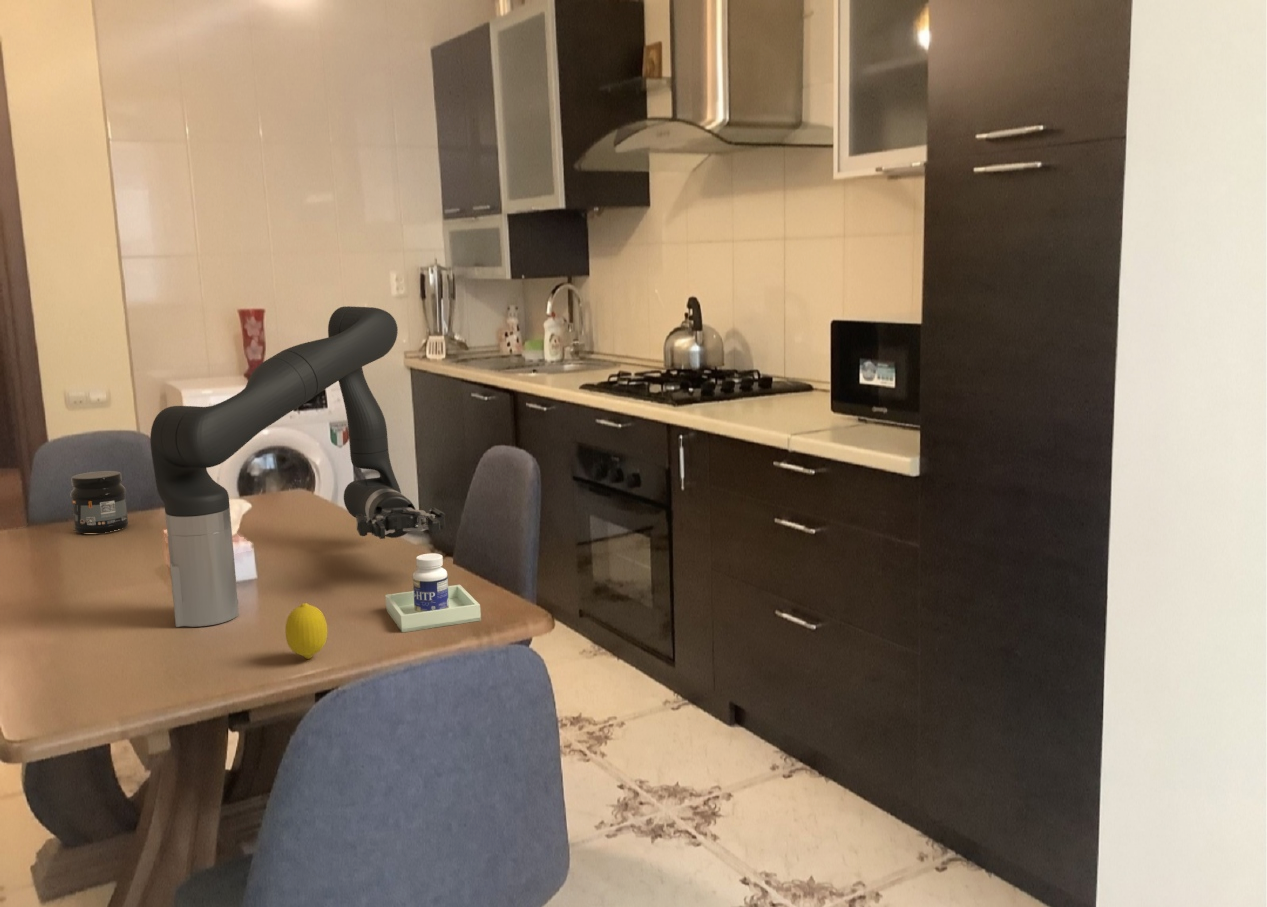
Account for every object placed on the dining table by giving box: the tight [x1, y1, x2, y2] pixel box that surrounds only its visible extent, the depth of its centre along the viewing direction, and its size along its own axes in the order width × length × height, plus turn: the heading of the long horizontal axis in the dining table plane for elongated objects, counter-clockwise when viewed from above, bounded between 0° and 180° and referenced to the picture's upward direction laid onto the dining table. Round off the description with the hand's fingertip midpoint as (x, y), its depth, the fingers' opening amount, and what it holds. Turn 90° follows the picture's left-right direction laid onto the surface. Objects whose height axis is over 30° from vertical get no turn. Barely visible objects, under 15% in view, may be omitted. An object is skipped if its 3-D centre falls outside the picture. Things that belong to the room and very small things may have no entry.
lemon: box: [284, 602, 328, 660], centre depth 146 cm, size 6×6×8 cm
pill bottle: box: [412, 552, 449, 613], centre depth 164 cm, size 5×5×9 cm
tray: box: [384, 584, 482, 633], centre depth 165 cm, size 12×12×2 cm
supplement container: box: [69, 470, 129, 534], centre depth 226 cm, size 10×10×12 cm
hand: (409, 530), depth 173 cm, fingers open, 8 cm apart
